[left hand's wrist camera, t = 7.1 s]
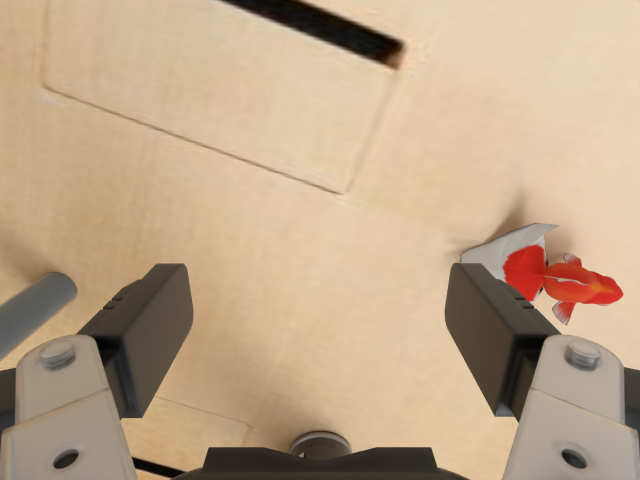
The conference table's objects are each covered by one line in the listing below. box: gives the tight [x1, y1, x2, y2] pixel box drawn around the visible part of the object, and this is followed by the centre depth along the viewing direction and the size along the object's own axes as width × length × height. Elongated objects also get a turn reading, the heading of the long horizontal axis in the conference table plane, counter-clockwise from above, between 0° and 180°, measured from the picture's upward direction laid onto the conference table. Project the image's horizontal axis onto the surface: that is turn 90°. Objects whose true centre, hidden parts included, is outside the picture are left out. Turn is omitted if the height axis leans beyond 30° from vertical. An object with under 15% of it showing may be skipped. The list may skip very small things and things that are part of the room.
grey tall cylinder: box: [0, 272, 77, 362], centre depth 37 cm, size 4×4×16 cm
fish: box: [460, 223, 623, 325], centre depth 39 cm, size 11×16×10 cm
